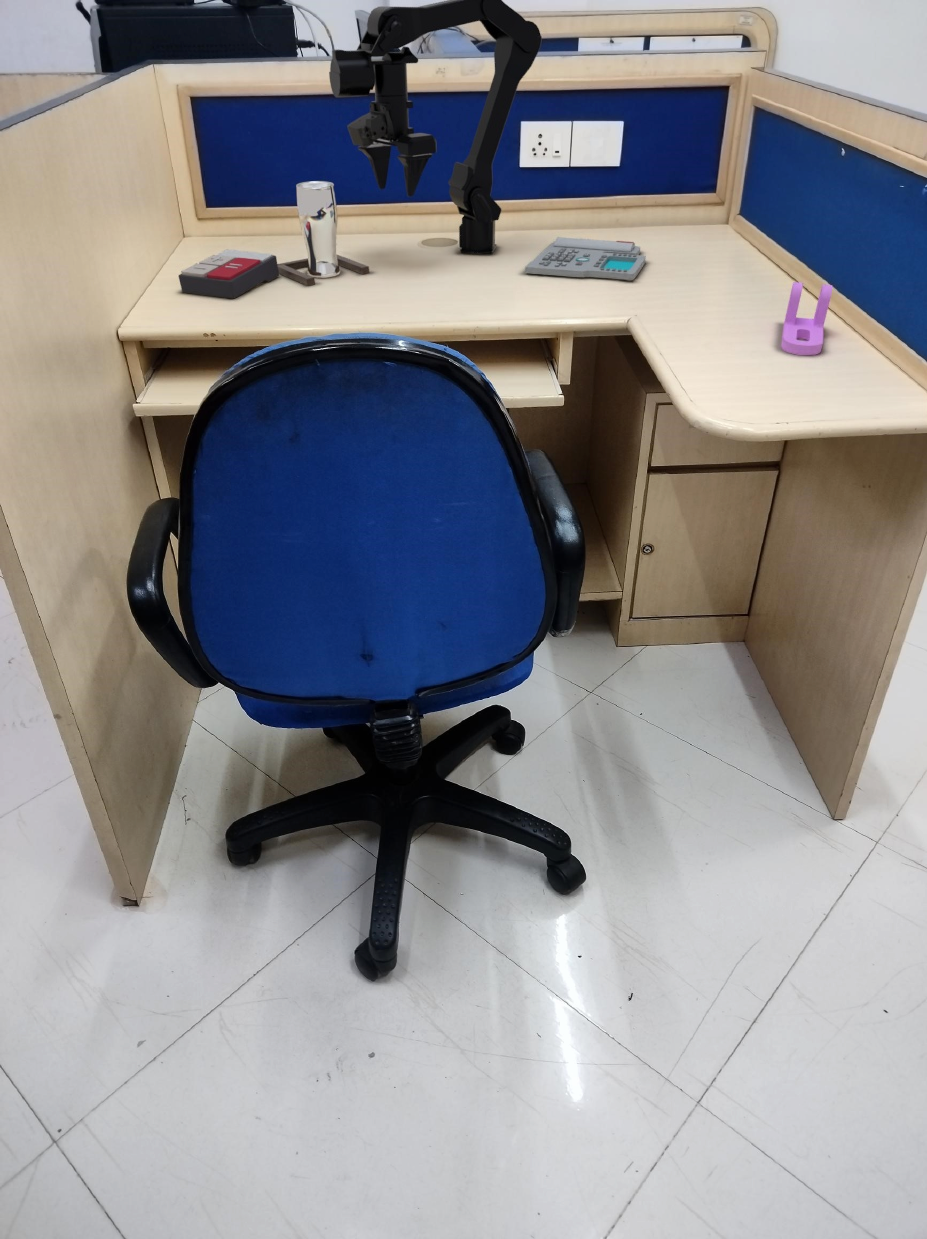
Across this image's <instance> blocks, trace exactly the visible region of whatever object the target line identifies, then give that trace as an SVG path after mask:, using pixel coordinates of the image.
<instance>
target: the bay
mask: <svg viewBox="0 0 927 1239" xmlns="http://www.w3.org/2000/svg"><path fill="white" fill-rule="evenodd" d="M336 255H337V260H338V264H339V267H342V268H345V269H347V270H350V271H352V272H355V273H358V274H360V275H366V274H370V266H369V265H367V264H363V263H361V262H359V261H356V260H353V259H351V258H347V257H345V256H342V255H340V254H337V253H336ZM277 265H278V271H279V275H282V276H284V277H286V278H288V279H291V280H293V281H295V282H298V283H301V284H302V285H304V286H307V287H309V286H313V285H316V280H315V277H312V276H309V275H308V273H304V272H303V271H300V270H298V269H303V268H308V257H307V258H303V259H302V258H301V259H297V260H292V261H287V262H281V263H277Z"/></svg>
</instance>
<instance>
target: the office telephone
mask: <svg viewBox="0 0 927 1239" xmlns="http://www.w3.org/2000/svg"><path fill="white" fill-rule="evenodd" d="M640 254H641V246H639V245H636V242H634V241H627V240H626V241H623V240H604V239H589V238H579V237H578V238H575V237H563V236H562V237H561V236H557V237H556V238H555V240H554V241H553V242H551V243H550V245H548V246H547V247H546V248H545V249H544V250H543V251H542V252H540V253H539V255H537V256H536V257H535V258H534V259H533V260H532V261H530V262H529V263H528V264H527V265H526V266H525V268H524V273H526V274H535V275H545V276H549V275H550V276H559V277H570V278H571V277H572V278H602V279H614V280H625V281H633V280H635V278H636V277H637V276H638V274H640V272H641V270H642V268H643V267H644V266H645V263H646V258H647V257H646V256H647V255H644V254H643V255H642V254H641V255H640Z"/></svg>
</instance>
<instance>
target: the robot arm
mask: <svg viewBox="0 0 927 1239" xmlns="http://www.w3.org/2000/svg"><path fill="white" fill-rule="evenodd" d="M476 22H480V23H481V25H482V26H483V27H484V29H485V30H486V32H487V33H488V35H490V36H491V37H492V39H493V40H494V41H495V46H494V53H493V60H494V61H493V62H494V73H493V77H492V81H491V84H490V87H489V90H488V93H487V97H486V99H485V103H484V106H483V109H482V112H481V116H480V118H479V122H478V125H477V128H476V131H475V134H474V138H473V141H472V144H471V148H470V150H469V153H468V155H467V157H466V158H465V159H464V161H463V162H462V163H461V162H459V161H455V162H454V165H453V170H452V175H451V177H450V179H449V181H447V184H448V185H449V190H448V194H449V196H450V199H451V202H452V203H453V204H454V205H455V206H456V208H457V211H458V214H459V215H461V224H460V225H459V226H458V230H459V231H458V246H459V248H460V251H459V252H460V253H461V254H476V255H478V254H479V255H493V253H494V251H495V250H496V248H497V244H496V221H499V220H500V217H501V213H502V207H501V206H500V205H499V204H498V203H497V202H496V201H495V199H493V197H492V196H491V194H492V188H493V183H494V179H493V178H494V177H493V163H494V161H495V157H496V153H497V151H498V148H499V144H500V141H501V139H502V135H503V133H504V130H505V126H506V124H507V120H508V117H509V114H510V111H511V108H512V105H513V102H514V100H515V95H516V94H517V90H518V87H519V84H520V82H521V80H522V79H523V78H524V76H525V75H526V74H527V73H528V71H529V70H530V69H531V68H532V66H533V64H534V62H535V60H536V58H537V55H538V54H539V52H540V50H541V46H542V40H543V39H542V38H543V37H542V34H541V31H540V28H539V26H538V25H537V24H536V23H535V22H534V21H532V20H526V19H525V18H524V17H523V16H522V15H521V14H520V13H518V12H517V11H516V10H514V9H513V8H512V7H511V6H509V5H508V4H506V2H504V1H503V0H443V1H439V2H434V3H429V4H425V5H424V4H423V5H419V6H383V5H382V6H377V7H375V8H373V9H371V11H370V14H369V15H368V17H367V22H366V30H365V33H364V35H363V36H362V39H361V40H360V42H359V44H358V46H357V48H356V49H355V50H351V49H350V50H344V49H332V50H331V56H332V58H331V60H330V65H329V66H330V67H329V71H328V77H329V78H328V79H329V83H330V88H331V92H332V95H333V96H334V97H335V98H352V97H354V98H355V97H368V96H369V95H370V94H371V91H373V90H374V98H375V100H371V101H370V104H369V112H368V113H365V114H363V115H361V116H360V117H358V118H356V119H355V120H353V121H352V122H350V123H349V124H347V126H346V127H347V130H348V133H349V136H350V139H351V141H352V145H353V146H357V149H358V151H361V153H363V154H364V155H365V156H366V157H367V159H368V160H369V163H370V166H371V168H372V172H373V174H374V178H375V180H376V183H377V186H378V189H379V190H385V189H386V185H387V181H388V173H389V167H390V159H391V153H392V147H396V149H397V151H398V153H399V155H397V156H396V157H397V159H398V160H399V161H400V163H401V164H402V166H403V174H404V182H405V189H406V195H407V197H408V198H411V197H414V195H415V192H416V190H417V187H418V185H419V183H420V180H421V177H422V175H423V173H424V171H425V168H426V167H427V164H428V162H429V160H430V159H431V158H433V154H437V152H438V150H437V146H438V145H437V139H436V138H435V137H434V135H433V134H430V133H424V132H417V133H415V132H414V131H415V129H414V127H411V126H410V121H409V109H413V108H414V101H413V100H409V97H408V96H409V95H408V70H407V66H408V65H407V64H417V63H419V58H418V57H417V56H416V55H415V54H414V53H413V52H412V51H411V49H410V47H409V46H406V45H409V44H411V43H413V42H415V41H417V40H418V39H419V38H421V37H422V36H425V35H426V34H428V33H432V32H436V31H440V30H446V29H450V28H454V27H459V26H463V25H467V24H471V23H476ZM400 48H401V49H400ZM394 49H397V50H398V49H400V50H399V51H394V52H393V51H391V50H394ZM378 57H381V58H379V59H372V58H378Z"/></svg>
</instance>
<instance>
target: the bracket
mask: <svg viewBox="0 0 927 1239" xmlns="http://www.w3.org/2000/svg"><path fill="white" fill-rule="evenodd" d="M803 286H804V282H799V281H798V282H797V281H793V282H792V286H791V289H790V294H789V299H788V303H787V308H786V312H785V316H784V321H783V327H782V334H781V344H780V348H781V350H783V351H784V352H785V353H789V354H793V355H798V356H815V355H818V354H820V353H821V351H822V348H823V344H824V326H825V322H826V318H827V313H828V311H829V310H828V309H829V306H830V302H831V298H832V294H833V285H831V284H822V285H821V287H820V292H819V295H818V300H817V303H816V308H815V312H814V316H813V318H806V317H797V314H798V310H799V305H800V302H801V296H802V293H803ZM799 339H802V340H799Z"/></svg>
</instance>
